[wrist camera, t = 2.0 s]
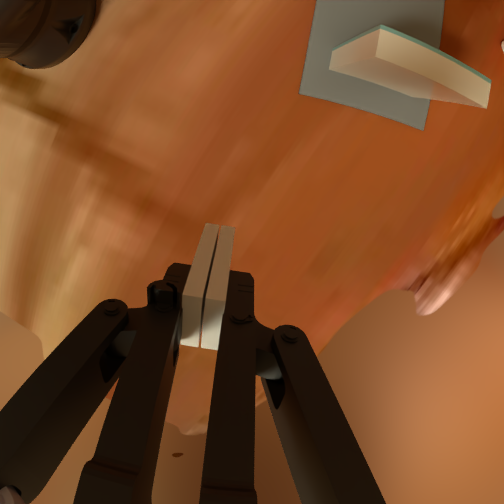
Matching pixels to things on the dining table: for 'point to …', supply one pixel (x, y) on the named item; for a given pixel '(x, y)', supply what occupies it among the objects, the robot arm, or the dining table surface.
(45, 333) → the dining table surface
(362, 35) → the tile
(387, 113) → the mat
